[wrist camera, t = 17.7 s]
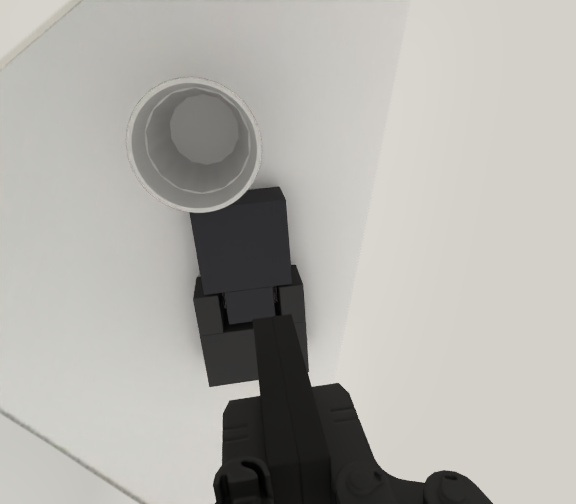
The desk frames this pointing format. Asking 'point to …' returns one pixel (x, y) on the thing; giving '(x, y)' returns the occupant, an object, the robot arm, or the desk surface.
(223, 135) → the cup
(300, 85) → the desk surface
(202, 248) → the tab pad
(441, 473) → the robot arm
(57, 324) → the desk surface
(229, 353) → the notch pad
